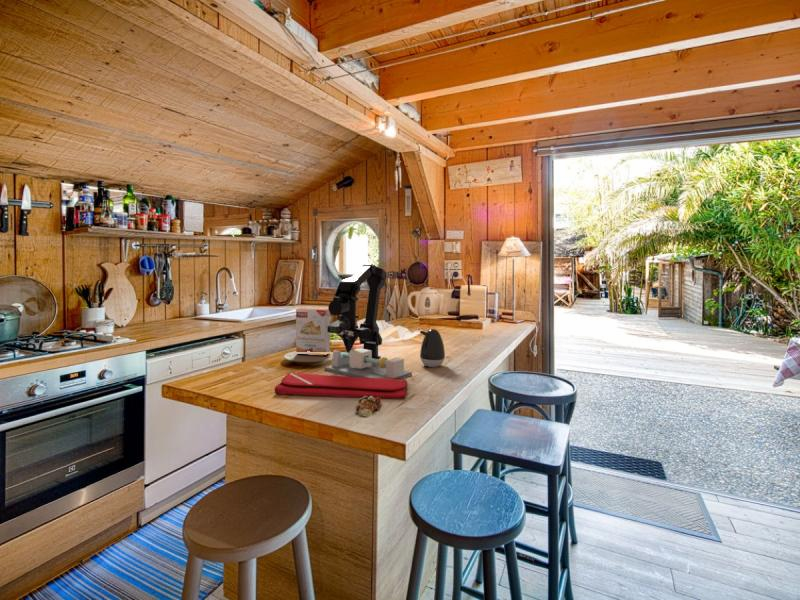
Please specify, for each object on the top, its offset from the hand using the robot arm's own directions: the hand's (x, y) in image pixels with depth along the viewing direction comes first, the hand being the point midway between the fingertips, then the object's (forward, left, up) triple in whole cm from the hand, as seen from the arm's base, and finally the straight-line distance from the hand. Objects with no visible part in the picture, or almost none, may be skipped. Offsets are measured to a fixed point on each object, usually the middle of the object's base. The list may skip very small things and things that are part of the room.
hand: (348, 352), depth 163 cm
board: (0, +10, -6) cm, 12 cm away
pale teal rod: (0, +9, -3) cm, 10 cm away
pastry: (+29, +37, -7) cm, 48 cm away
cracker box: (-7, -29, -7) cm, 31 cm away
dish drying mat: (+21, +18, -7) cm, 29 cm away
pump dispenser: (-25, +23, -7) cm, 35 cm away
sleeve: (0, +6, -4) cm, 8 cm away
